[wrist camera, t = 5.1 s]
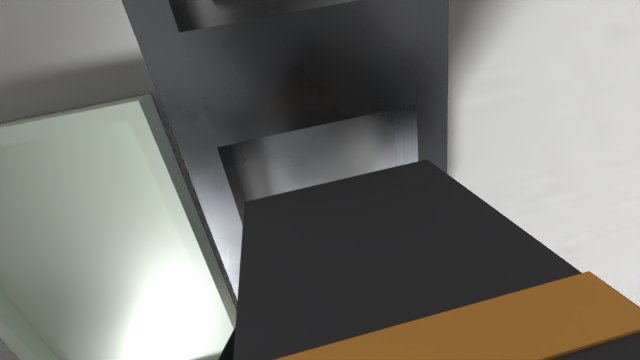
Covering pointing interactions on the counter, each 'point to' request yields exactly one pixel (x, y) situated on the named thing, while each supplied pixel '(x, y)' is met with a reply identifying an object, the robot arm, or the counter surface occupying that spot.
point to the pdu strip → (293, 94)
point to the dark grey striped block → (414, 279)
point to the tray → (104, 242)
